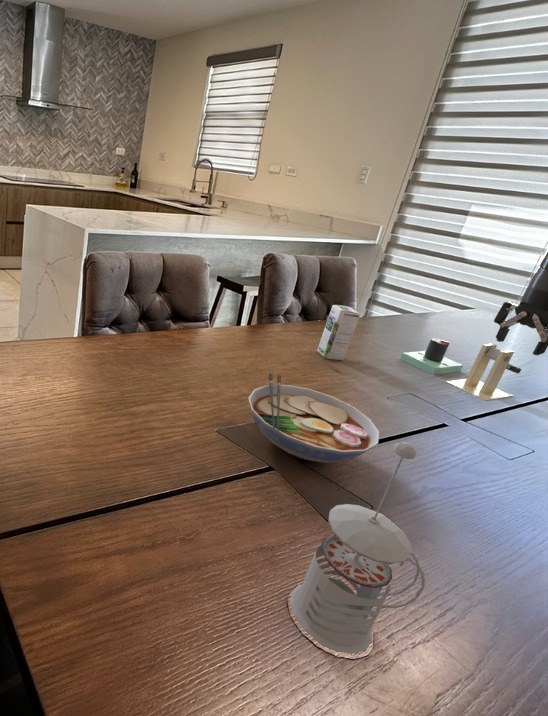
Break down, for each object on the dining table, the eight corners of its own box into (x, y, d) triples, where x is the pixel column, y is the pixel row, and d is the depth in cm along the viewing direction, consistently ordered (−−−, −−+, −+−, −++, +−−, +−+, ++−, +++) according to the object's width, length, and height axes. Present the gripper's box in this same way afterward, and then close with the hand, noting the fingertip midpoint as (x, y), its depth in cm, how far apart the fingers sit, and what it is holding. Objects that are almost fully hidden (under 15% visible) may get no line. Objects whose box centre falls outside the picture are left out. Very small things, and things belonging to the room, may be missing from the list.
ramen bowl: (377, 508, 75) (395, 467, 72) (233, 464, 82) (244, 425, 79) (356, 431, 97) (369, 397, 94) (244, 402, 104) (253, 368, 101)
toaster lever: (496, 367, 127) (502, 360, 127) (517, 375, 123) (523, 368, 123) (479, 352, 121) (485, 344, 121) (500, 360, 117) (507, 352, 117)
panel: (425, 359, 142) (429, 350, 141) (458, 374, 134) (463, 364, 133) (398, 362, 138) (402, 352, 137) (431, 377, 130) (436, 367, 128)
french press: (283, 572, 61) (345, 408, 52) (380, 603, 59) (464, 435, 49) (289, 641, 53) (364, 458, 43) (403, 680, 50) (511, 495, 40)
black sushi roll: (423, 358, 134) (431, 339, 132) (423, 354, 138) (431, 335, 135) (441, 363, 132) (450, 344, 130) (441, 358, 136) (449, 340, 133)
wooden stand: (471, 381, 130) (491, 339, 125) (511, 399, 122) (534, 355, 117) (443, 385, 126) (463, 341, 121) (482, 404, 117) (506, 357, 112)
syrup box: (316, 350, 139) (331, 304, 133) (335, 352, 139) (351, 306, 133) (324, 358, 133) (340, 310, 128) (344, 361, 134) (361, 313, 128)
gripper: (591, 297, 112) (557, 358, 118) (524, 280, 124) (496, 336, 130) (574, 297, 109) (540, 360, 115) (507, 279, 121) (479, 337, 127)
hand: (517, 347), depth 123 cm, fingers open, 8 cm apart
